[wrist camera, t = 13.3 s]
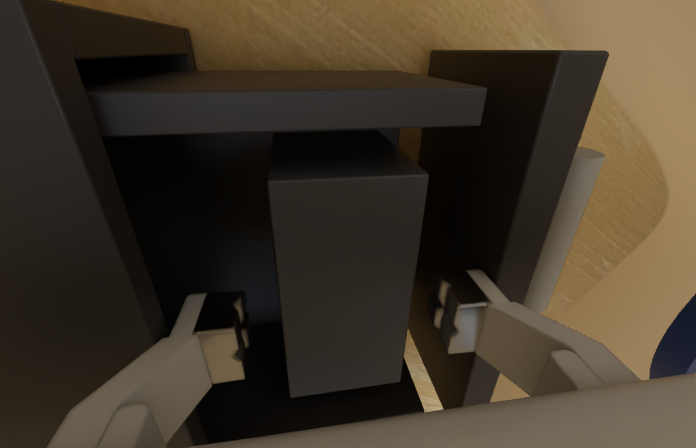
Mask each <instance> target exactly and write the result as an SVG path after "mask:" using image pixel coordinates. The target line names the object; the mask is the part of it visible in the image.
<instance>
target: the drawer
mask: <svg viewBox="0 0 696 448" xmlns="http://www.w3.org/2000/svg"><path fill="white" fill-rule="evenodd" d="M608 56H609V53H608V52H606V51H575V50H431V53H430V62H429V71H428V76H423V75H418V74H413V73H408V72H402V71H78V72H79V75H80V78H81V81H82V84H83V86H84V89H85V92H86V95H87V98H88V101H89V104H90V106H91V109H92V112H93V115H94V118H95V121H96V124H97V126H98V129H99V132H100V135H101V138H102V141H103V144H104V147H105V149H106V152H107V155H108V158H109V161H110V164H111V167H112V169H113V172H114V175H115V178H116V181H117V184H118V187H119V189H120V192H121V195H122V198H123V201H124V204H125V207H126V209H127V212H128V215H129V218H130V221H131V224H132V227H133V229H134V232H135V235H136V238H137V241H138V244H139V247H140V250H141V252H142V255H143V258H144V261H145V264H146V267H147V270H148V272H149V275H150V278H151V281H152V284H153V287H154V290H155V292H156V295H157V298H158V301H159V304H160V307H161V310H162V312H163V315H164V318H165V321H166V324H167V327H168V330H169V332H170V334H171V331H172V329H173V327H174V324H175V322H176V320H177V318H178V315H179V313H180V311H181V308H182V306H183V304H184V302H185V299H186V297H187V296H189V295H190V294H200V293H211V292H226V291H242V290H244V291H245V293H246V298H247V305H246V311H247V312H249V315H250V322H251V339H250V346H249V347H248V348H247V349H246V352H247V357H248V360H247V366H246V373H245V379H241V380H235V381H228V382H221V383H215V384H212V387H211V388H210V389H209V390H208V392H207V393H206V394H205V395H204V397H203V398H202V399H201V401H200V402H199V403H198V404H197V406H196V410H197V413H198V415H199V418H200V421H201V424H202V427H203V430H204V433H205V435H206V438H207V441H208V444H214V443H220V442H227V441H234V440H241V439H248V438H254V437H261V436H268V435H275V434H282V433H288V432H295V431H302V430H309V429H316V428H322V427H329V426H336V425H343V424H350V423H357V422H363V421H370V420H377V419H384V418H391V417H397V416H404V415H411V414H418V413H424V408H423V406H422V403H421V401H420V398H419V395H418V393H417V390H416V388H415V385H414V383H413V380H412V377H411V375H410V372H409V370H408V367H407V364H406V362H405V359H404V357H403V365H402V372H401V379H400V382H396V383H389V384H382V385H375V386H368V387H362V388H355V389H348V390H341V391H335V392H328V393H321V394H314V395H307V396H301V397H294V398H291V397H290V393H289V384H288V374H287V365H286V356H285V347H284V337H283V328H282V319H281V309H280V300H279V291H278V282H277V272H276V263H275V254H274V244H273V235H272V226H271V217H270V207H269V198H268V189H267V179H268V171H269V164H270V156H271V149H272V141H273V135H274V133H306V132H353V131H380V132H381V133H382V134H383V135H384V136H385V137H387V138H388V139H389V140H390V141H391V142H392V143H393V144H395V145H396V146H397V147H398V146H399V133H400V128H422V133H421V142H420V151H419V160H418V165H419V166H420V167H421V168H422V169H423V170H425V171H426V172H427V173H428V174H429V180H428V187H427V194H426V201H425V208H424V215H423V223H422V230H421V237H420V244H419V251H418V258H417V265H416V272H415V279H414V286H413V294H412V301H411V308H410V315H409V322H408V329H409V331H410V334H411V336H412V338H413V340H414V343H415V345H416V347H417V350H418V352H419V354H420V356H421V359H422V361H423V363H424V365H425V368H426V370H427V372H428V374H429V377H430V379H431V381H432V384H433V386H434V388H435V390H436V393H437V395H438V397H439V399H440V402H441V404H442V406H443V408H444V410H445V409H452V408H459V407H465V406H472V405H479V404H486V403H490V400H491V397H492V394H493V391H494V388H495V385H496V383H497V379H498V377H499V374H500V372H499V371H498V370H497V369H495V368H494V367H493V366H491V365H490V364H489V363H488V362H486V361H485V360H484V359H483V358H481V357H480V356H479V355H477V354H476V353H475V352H476V351H475V352H464V353H454V354H448V353H447V351H446V349H445V347H444V345H443V343H442V341H441V339H440V337H439V334H440V329H438V328H436V327H435V326H433V324H432V322H431V320H430V317H429V313H428V305H427V303H428V296H429V295H430V294H431V292H432V291H433V289H432V287H431V285H430V283H431V278H432V276H433V274H439V273H450V272H461V271H466V270H475V269H480V270H482V271H483V272H484V273H485V274H486V275H487V276H488V278H489V279H490V280H491V281H492V282H493V283H494V284H495V285H496V287H497V288H498V289H499V290H500V291H501V292H502V293H503V295H504V296H505V297H506V298H507V299H508V300H509V301H510V302H516V303H519V304H521V305H523V306H525V307H527V308H529V309H531V310H533V311H535V312H537V313H539V312H543V311H544V310H545V309H546V308H547V305H548V303H549V300H550V298H551V295H552V292H553V290H554V287H555V285H556V282H557V280H558V277H559V274H560V272H561V269H562V267H563V264H564V262H565V259H566V257H567V254H568V251H569V249H570V246H571V244H572V241H573V239H574V236H575V233H576V231H577V228H578V226H579V223H580V221H581V218H582V215H583V213H584V210H585V208H586V205H587V203H588V200H589V198H590V195H591V192H592V190H593V187H594V185H595V182H596V180H597V177H598V174H599V172H600V169H601V167H602V164H603V162H604V159H605V155H604V154H603V153H601V152H599V151H596V150H592V149H587V148H582V147H578V144H579V141H580V138H581V135H582V132H583V129H584V126H585V123H586V120H587V117H588V115H589V112H590V109H591V106H592V103H593V100H594V97H595V94H596V91H597V88H598V85H599V83H600V80H601V77H602V73H603V71H604V68H605V65H606V62H607V59H608Z"/></svg>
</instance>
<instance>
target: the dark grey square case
mask: <svg viewBox="0 0 696 448" xmlns="http://www.w3.org/2000/svg"><path fill="white" fill-rule="evenodd" d="M78 71H197V70H196V65H195V59H194V54H193V49H192V44H191V39H190V34H189V30H188V29H186V28H181V27H177V26H172V25H167V24H163V23H158V22H153V21H148V20H144V19H139V18H134V17H129V16H124V15H120V14H115V13H110V12H105V11H101V10H96V9H91V8H86V7H81V6H77V5H72V4H67V3H62V2H57V1H51V0H0V448H47V446H48V444H49V443H50V441H51V440H52V438H53V436H54V435H55V433H56V432H57V430H58V429H59V427H60V425H61V424H62V422H63V421H64V419H65V417H66V416H67V414H68V413H69V411H70V410H71V409H72V408H74V407H75V406H76V405H77V404H79V403H80V402H81V401H83V400H84V399H85V398H86V397H88V396H89V395H90V394H92V393H93V392H94V391H95V390H97V389H98V388H99V387H101V386H102V385H103V384H104V383H106V382H107V381H108V380H110V379H111V378H112V377H113V376H115V375H116V374H117V373H119V372H120V371H121V370H122V369H124V368H125V367H126V366H128V365H129V364H130V363H131V362H133V361H134V360H135V359H137V358H138V357H139V356H140V355H142V354H143V353H144V352H146V351H147V350H148V349H149V348H151V347H152V346H154V345H155V344H156V343H157V342H158V341H160V340H161V339H162V338H167V337H169V336H170V332H169V330H168V327H167V324H166V321H165V318H164V315H163V312H162V310H161V307H160V304H159V301H158V298H157V295H156V292H155V290H154V287H153V284H152V281H151V278H150V275H149V272H148V270H147V267H146V264H145V261H144V258H143V255H142V252H141V250H140V247H139V244H138V241H137V238H136V235H135V232H134V229H133V227H132V224H131V221H130V218H129V215H128V212H127V209H126V207H125V204H124V201H123V198H122V195H121V192H120V189H119V187H118V184H117V181H116V178H115V175H114V172H113V169H112V167H111V164H110V161H109V158H108V155H107V152H106V149H105V147H104V144H103V141H102V138H101V135H100V132H99V129H98V126H97V124H96V121H95V118H94V115H93V112H92V109H91V106H90V104H89V101H88V98H87V95H86V92H85V89H84V86H83V84H82V81H81V78H80V75H79V72H78ZM207 444H208V441H207V438H206V435H205V433H204V430H203V427H202V424H201V421H200V418H199V415H198V413H197V410H196V407H195V408H194V409H193V411H192V412H191V413H190V415H189V416H188V417H187V418H186V420H185V421H184V422H183V423H182V425H181V426H180V427H179V429H178V430H177V431H176V432H175V434H174V435H173V436H172V437H171V439H170V440H169V441H168V443H167V444H166V446H167V448H186V447H193V446H200V445H207Z"/></svg>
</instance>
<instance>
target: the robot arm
mask: <svg viewBox="0 0 696 448" xmlns="http://www.w3.org/2000/svg"><path fill="white" fill-rule="evenodd" d="M430 285H431V287H432V289H433V291H432V292H431V294H430V295H429V296H428V303H427V305H428V313H429V317H430V320H431V322H432V324H433V326H435V327H436V328H438V329H440V334H439V337H440V339H441V341H442V343H443V345H444V347H445V349H446V351H447V353H448V354H454V353H464V352H475V351H476V352H475V353H476V354H477V355H479V356H480V357H481V358H483V359H484V360H485V361H486V362H488V363H489V364H490V365H491V366H493V367H494V368H495V369H497V370H498V371H499V372H500V373H502V374H503V375H504V376H506V377H507V378H508V379H509V380H511V381H512V382H513V383H514V384H516V385H517V386H518V387H519V388H521V389H522V390H523V391H524V392H526V393H527V394H528V395H530V396H531V397H526V398H519V399H513V400H506V401H499V402H492V403H486V404H479V405H472V406H465V407H459V408H452V409H445V410H438V411H432V412H425V413H418V414H411V415H404V416H397V417H391V418H384V419H377V420H370V421H363V422H357V423H350V424H343V425H336V426H329V427H322V428H316V429H309V430H302V431H295V432H288V433H282V434H275V435H268V436H261V437H254V438H248V439H241V440H234V441H227V442H220V443H214V444H207V445H200V446H193V447H186V448H696V373H690V374H683V375H676V376H670V377H663V378H656V379H649V380H643V381H641V380H640V379H639V378H638V377H637V376H636V375H635V374H634V373H633V372H632V371H631V370H630V369H629V368H628V367H626V366H625V365H624V364H623V363H622V362H621V361H620V360H619V359H618V358H617V357H616V356H615V355H614V354H613V353H612V352H611V351H610V350H608V349H607V348H606V347H605V346H604V345H603V344H602V343H600V342H598V341H596V340H594V339H592V338H589V337H587V336H585V335H583V334H581V333H579V332H577V331H575V330H573V329H571V328H569V327H566V326H564V325H562V324H560V323H558V322H556V321H554V320H552V319H550V318H548V317H546V316H544V315H542V314H539V313H537V312H535V311H533V310H531V309H529V308H527V307H525V306H523V305H521V304H519V303H516V302H510V301H509V300H508V299H507V298H506V297H505V296H504V295H503V293H502V292H501V291H500V290H499V289H498V288H497V287H496V285H495V284H494V283H493V282H492V281H491V280H490V279H489V278H488V276H487V275H486V274H485V273H484V272H483V271H482V270H480V269H475V270H466V271H461V272H450V273H439V274H433V276H432V278H431V283H430ZM246 305H247V298H246V293H245V291H244V290H242V291H226V292H211V293H200V294H190V295H189V296H187V297H186V299H185V302H184V304H183V306H182V308H181V311H180V313H179V315H178V318H177V320H176V322H175V324H174V327H173V329H172V331H171V334H170V336H169V337H167V338H162V339H161V340H160V341H158V342H157V343H156V344H155V345H154V346H152V347H151V348H149V349H148V350H147V351H146V352H144V353H143V354H142V355H140V356H139V357H138V358H137V359H135V360H134V361H133V362H131V363H130V364H129V365H128V366H126V367H125V368H124V369H122V370H121V371H120V372H119V373H117V374H116V375H115V376H113V377H112V378H111V379H110V380H108V381H107V382H106V383H104V384H103V385H102V386H101V387H99V388H98V389H97V390H95V391H94V392H93V393H92V394H90V395H89V396H88V397H86V398H85V399H84V400H83V401H81V402H80V403H79V404H77V405H76V406H75V407H74V408H72V409H71V410H70V411H69V413H68V414H67V416H66V417H65V419H64V421H63V422H62V424H61V425H60V427H59V429H58V430H57V432H56V433H55V435H54V436H53V438H52V440H51V441H50V443H49V444H48V446H47V448H167V446H166V444H167V443H168V441H169V440H170V439H171V437H172V436H173V435H174V434H175V432H176V431H177V430H178V429H179V427H180V426H181V425H182V423H183V422H184V421H185V420H186V418H187V417H188V416H189V415H190V413H191V412H192V411H193V409H194V408H195V407H196V406H197V404H198V403H199V402H200V401H201V399H202V398H203V397H204V395H205V394H206V393H207V392H208V390H209V389H210V388H211V387H212V384H215V383H221V382H228V381H235V380H241V379H245V373H246V366H247V360H248V357H247V352H246V349H247V348H248V347H249V346H250V339H251V322H250V315H249V312H247V311H246Z"/></svg>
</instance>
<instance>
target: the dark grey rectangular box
mask: <svg viewBox="0 0 696 448" xmlns="http://www.w3.org/2000/svg"><path fill="white" fill-rule="evenodd" d="M428 180H429V174H428V173H427V172H426V171H425V170H423V169H422V168H421V167H420V166H419V165H418V164H416V163H415V162H414V161H413V160H412V159H411V158H410V157H408V156H407V155H406V154H405V153H404V152H403V151H402V150H400V149H399V148H398V147H397V146H396V145H395V144H393V143H392V142H391V141H390V140H389V139H388V138H387V137H385V136H384V135H383V134H382V133H381V132H380V131H353V132H306V133H274V135H273V141H272V149H271V156H270V164H269V171H268V179H267V189H268V198H269V207H270V217H271V226H272V235H273V244H274V254H275V263H276V272H277V282H278V291H279V300H280V309H281V319H282V328H283V337H284V347H285V356H286V365H287V374H288V384H289V393H290V397H291V398H294V397H301V396H307V395H314V394H321V393H328V392H335V391H341V390H348V389H355V388H362V387H368V386H375V385H382V384H389V383H396V382H400V379H401V372H402V365H403V357H404V350H405V343H406V336H407V329H408V322H409V315H410V308H411V301H412V294H413V286H414V279H415V272H416V265H417V258H418V251H419V244H420V237H421V230H422V223H423V215H424V208H425V201H426V194H427V187H428Z"/></svg>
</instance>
